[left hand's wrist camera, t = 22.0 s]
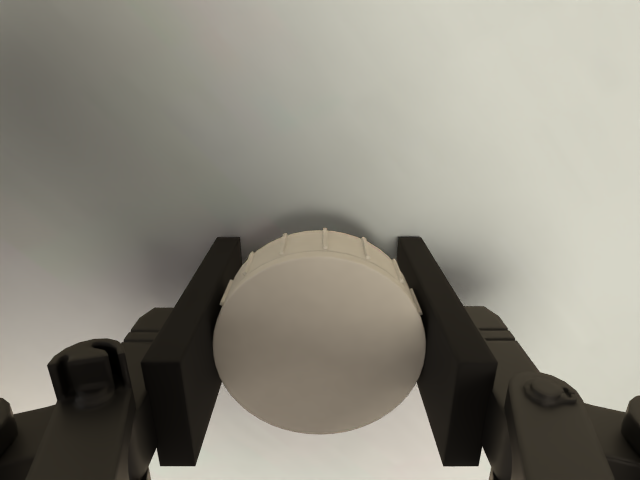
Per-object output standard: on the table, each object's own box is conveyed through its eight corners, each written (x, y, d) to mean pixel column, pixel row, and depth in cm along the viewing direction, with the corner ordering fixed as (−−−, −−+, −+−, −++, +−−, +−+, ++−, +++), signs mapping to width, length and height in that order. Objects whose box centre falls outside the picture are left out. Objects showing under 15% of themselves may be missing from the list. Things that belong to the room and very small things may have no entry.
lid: (187, 286, 12) (166, 321, 10) (356, 191, 11) (362, 213, 9) (290, 415, 14) (285, 462, 12) (444, 343, 13) (463, 384, 11)
